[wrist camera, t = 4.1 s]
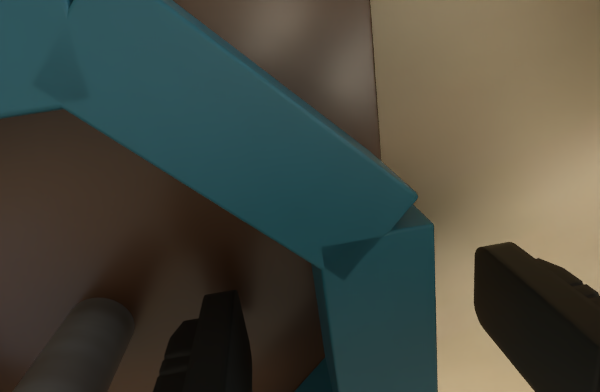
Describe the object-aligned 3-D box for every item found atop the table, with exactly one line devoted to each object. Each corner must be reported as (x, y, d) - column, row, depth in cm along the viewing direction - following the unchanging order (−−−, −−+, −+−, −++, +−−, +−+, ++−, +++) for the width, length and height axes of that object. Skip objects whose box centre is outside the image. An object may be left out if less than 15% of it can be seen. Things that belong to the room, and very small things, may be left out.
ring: (-450, 59, 7) (-913, 64, 4) (366, -55, 8) (428, -115, 5) (-65, 561, 12) (-159, 711, 10) (403, 469, 13) (443, 583, 10)
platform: (-250, 57, 10) (-1236, 68, 3) (338, -27, 11) (468, -155, 4) (-5, 467, 15) (-205, 782, 9) (377, 395, 16) (461, 637, 9)
